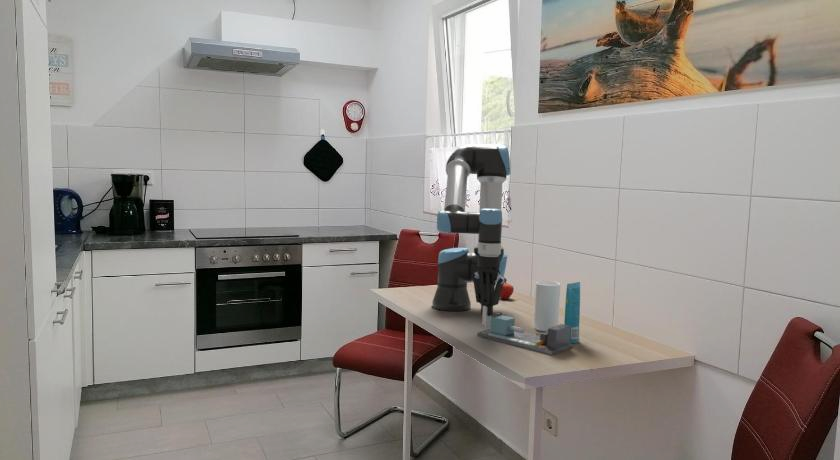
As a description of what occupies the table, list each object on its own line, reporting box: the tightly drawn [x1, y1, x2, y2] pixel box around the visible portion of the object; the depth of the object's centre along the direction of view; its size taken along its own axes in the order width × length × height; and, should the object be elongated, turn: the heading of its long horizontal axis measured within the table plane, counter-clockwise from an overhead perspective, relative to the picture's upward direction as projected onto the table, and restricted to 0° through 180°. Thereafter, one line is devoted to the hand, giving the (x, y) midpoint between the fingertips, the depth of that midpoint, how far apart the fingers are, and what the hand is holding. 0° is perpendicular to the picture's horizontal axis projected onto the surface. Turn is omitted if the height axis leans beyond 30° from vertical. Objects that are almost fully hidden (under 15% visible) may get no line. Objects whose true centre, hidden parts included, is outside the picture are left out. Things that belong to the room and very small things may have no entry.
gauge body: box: [489, 312, 525, 335], centre depth 202 cm, size 11×5×6 cm, turn 47°
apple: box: [500, 278, 515, 300], centre depth 263 cm, size 8×7×10 cm
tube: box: [563, 281, 581, 344], centre depth 199 cm, size 7×5×19 cm, turn 140°
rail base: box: [477, 323, 573, 356], centre depth 198 cm, size 28×12×7 cm, turn 47°
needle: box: [535, 331, 548, 345], centre depth 191 cm, size 2×7×3 cm, turn 137°
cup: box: [533, 280, 561, 332], centre depth 214 cm, size 8×8×16 cm
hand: (486, 324), depth 208 cm, fingers closed
